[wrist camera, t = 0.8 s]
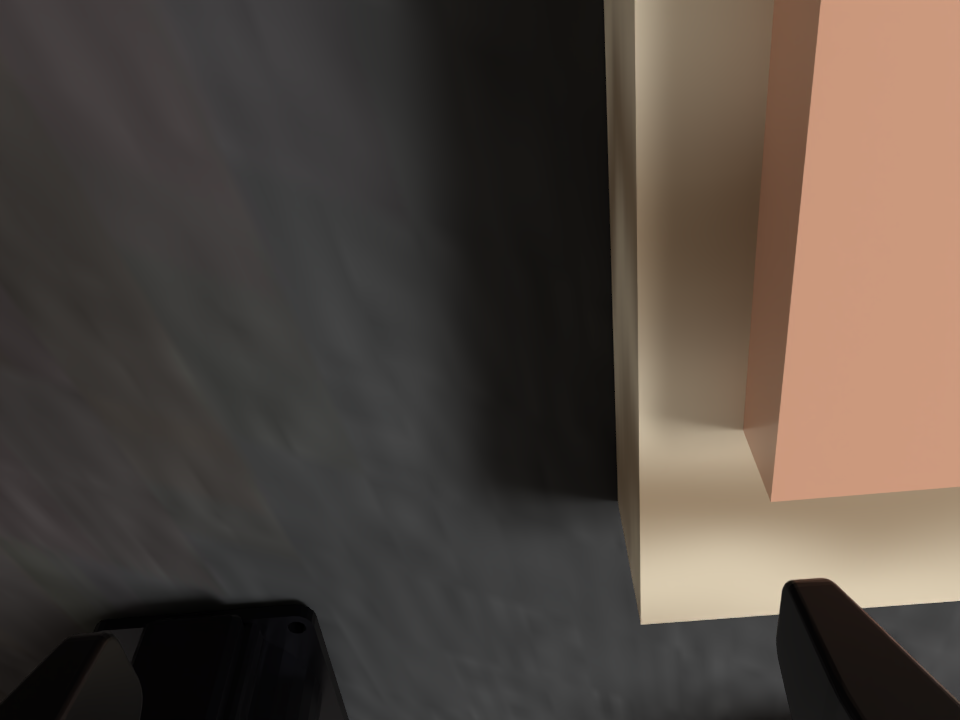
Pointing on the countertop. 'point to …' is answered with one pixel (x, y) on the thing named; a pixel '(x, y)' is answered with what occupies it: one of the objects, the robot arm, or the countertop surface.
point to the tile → (858, 252)
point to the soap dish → (719, 342)
